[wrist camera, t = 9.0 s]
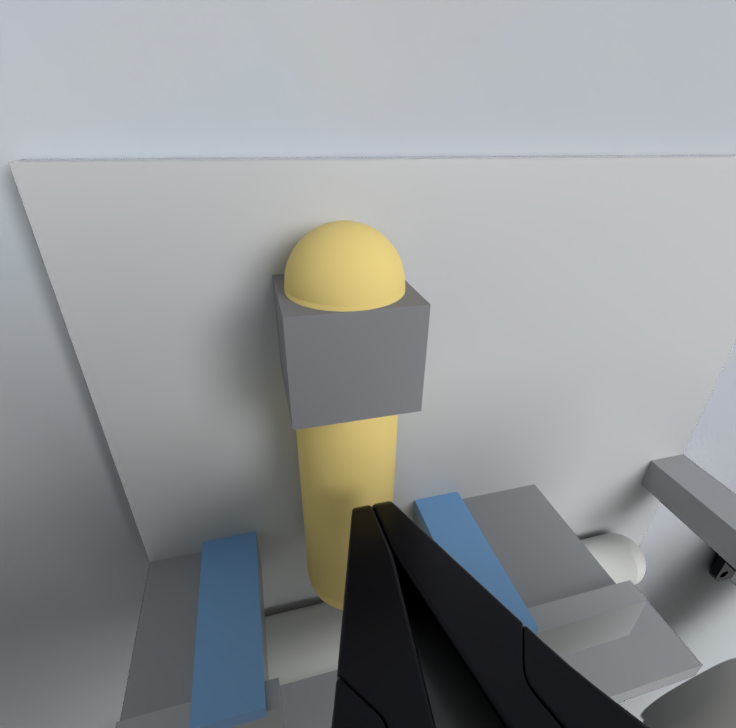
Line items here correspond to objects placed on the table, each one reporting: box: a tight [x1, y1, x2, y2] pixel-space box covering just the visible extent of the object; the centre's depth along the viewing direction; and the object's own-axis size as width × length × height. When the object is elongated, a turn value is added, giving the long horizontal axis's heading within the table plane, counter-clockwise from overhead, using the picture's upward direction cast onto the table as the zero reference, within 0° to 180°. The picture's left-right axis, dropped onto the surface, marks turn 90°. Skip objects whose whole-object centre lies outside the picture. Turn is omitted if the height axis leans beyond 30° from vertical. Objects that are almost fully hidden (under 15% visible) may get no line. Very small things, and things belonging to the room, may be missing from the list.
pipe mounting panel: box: [8, 155, 736, 728], centre depth 12 cm, size 19×18×5 cm
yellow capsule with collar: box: [272, 220, 431, 610], centre depth 11 cm, size 11×3×2 cm, turn 179°
